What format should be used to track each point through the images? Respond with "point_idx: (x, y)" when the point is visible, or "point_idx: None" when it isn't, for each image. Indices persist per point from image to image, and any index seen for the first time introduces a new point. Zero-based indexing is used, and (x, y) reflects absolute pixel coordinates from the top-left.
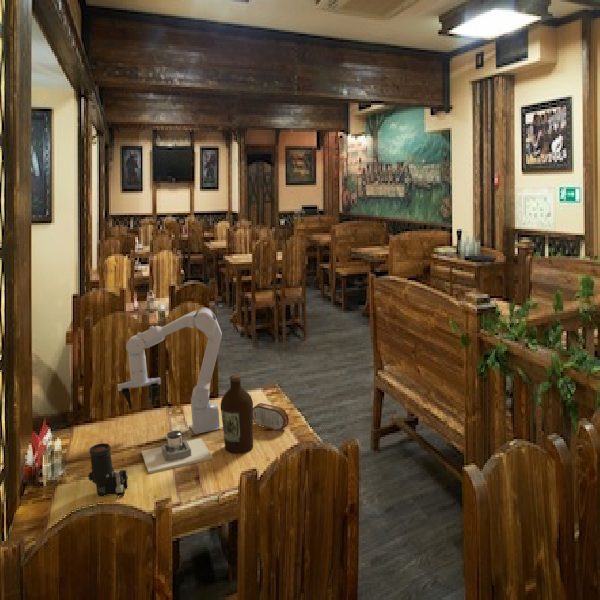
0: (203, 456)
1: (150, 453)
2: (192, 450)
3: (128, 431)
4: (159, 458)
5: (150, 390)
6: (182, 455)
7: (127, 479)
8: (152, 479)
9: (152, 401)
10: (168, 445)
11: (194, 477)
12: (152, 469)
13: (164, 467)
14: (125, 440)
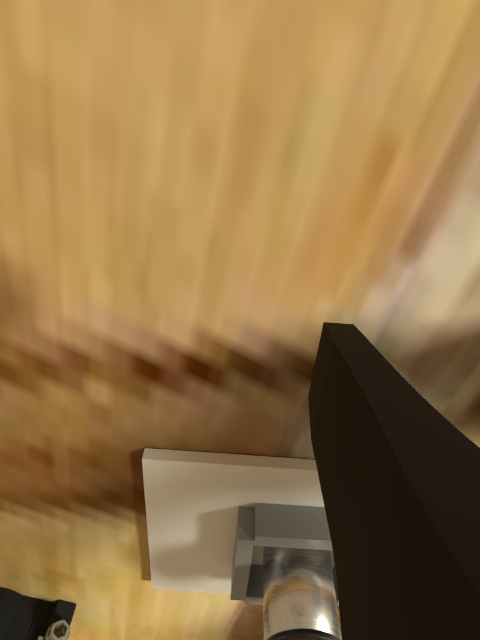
0: None
1: (183, 496)
2: None
3: (62, 51)
4: (213, 543)
5: (411, 520)
6: None
7: (69, 631)
8: (162, 602)
9: (322, 462)
10: (263, 592)
11: None
12: (169, 586)
13: (215, 592)
14: (45, 242)
